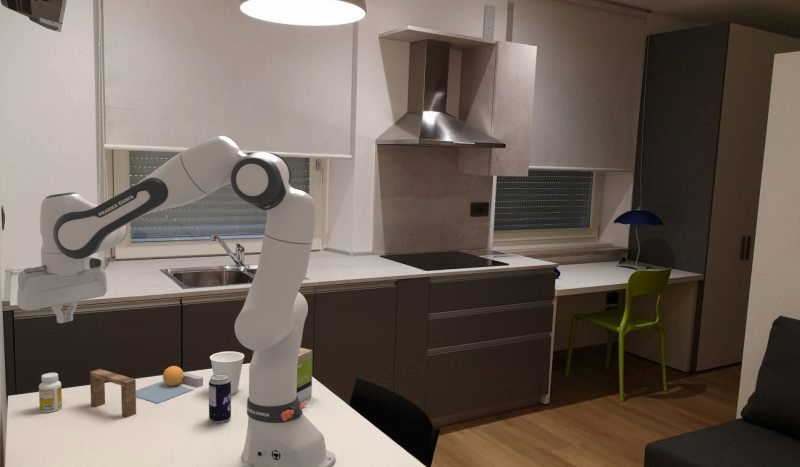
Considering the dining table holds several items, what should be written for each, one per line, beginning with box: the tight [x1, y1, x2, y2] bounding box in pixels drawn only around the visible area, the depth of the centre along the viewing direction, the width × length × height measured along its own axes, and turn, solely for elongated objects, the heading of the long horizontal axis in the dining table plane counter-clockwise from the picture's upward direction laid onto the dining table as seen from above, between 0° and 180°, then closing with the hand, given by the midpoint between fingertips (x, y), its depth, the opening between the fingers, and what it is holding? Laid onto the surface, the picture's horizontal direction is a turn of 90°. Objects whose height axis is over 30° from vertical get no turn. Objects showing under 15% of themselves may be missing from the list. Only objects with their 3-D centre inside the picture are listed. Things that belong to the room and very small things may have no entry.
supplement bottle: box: [38, 372, 63, 414], centre depth 178 cm, size 5×5×10 cm
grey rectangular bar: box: [180, 371, 204, 388], centre depth 201 cm, size 12×2×2 cm, turn 61°
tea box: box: [251, 347, 313, 404], centre depth 191 cm, size 15×10×15 cm, turn 62°
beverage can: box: [208, 374, 232, 424], centre depth 174 cm, size 6×6×12 cm
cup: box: [209, 351, 245, 396], centre depth 194 cm, size 10×10×11 cm
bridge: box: [89, 368, 137, 418], centre depth 179 cm, size 15×3×10 cm, turn 61°
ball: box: [162, 365, 184, 386], centre depth 198 cm, size 6×6×6 cm
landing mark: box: [136, 380, 194, 404], centre depth 193 cm, size 13×13×1 cm
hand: (65, 321), depth 151 cm, fingers closed
